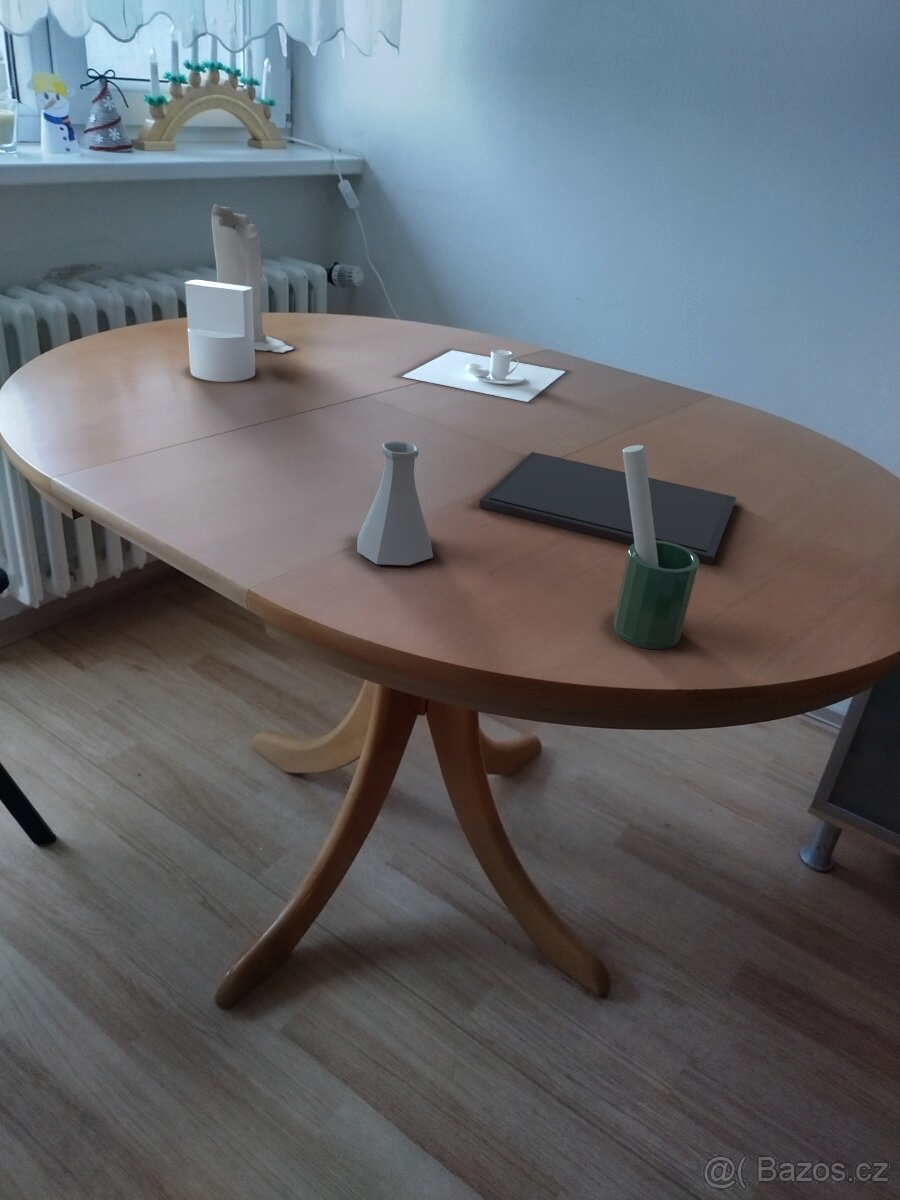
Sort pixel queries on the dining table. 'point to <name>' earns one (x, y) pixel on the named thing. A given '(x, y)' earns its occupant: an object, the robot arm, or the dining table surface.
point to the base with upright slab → (220, 331)
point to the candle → (242, 265)
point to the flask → (396, 513)
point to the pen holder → (655, 596)
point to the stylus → (640, 504)
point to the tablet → (609, 503)
